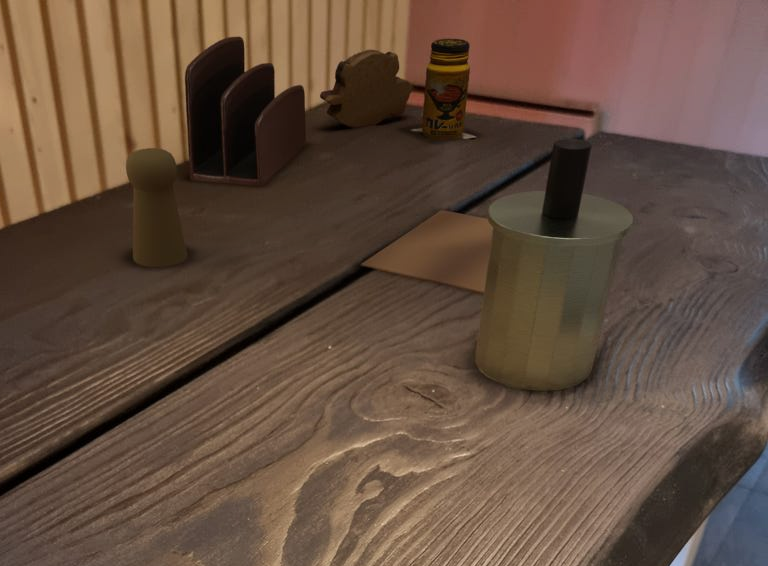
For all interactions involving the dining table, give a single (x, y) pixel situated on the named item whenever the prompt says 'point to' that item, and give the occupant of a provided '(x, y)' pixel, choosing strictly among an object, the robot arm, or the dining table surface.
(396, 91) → the wooden carving
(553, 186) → the lid
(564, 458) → the dining table surface
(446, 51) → the condiment
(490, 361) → the green cylindrical container
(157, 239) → the pepper shaker
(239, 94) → the letter holder
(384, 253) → the cork mat
